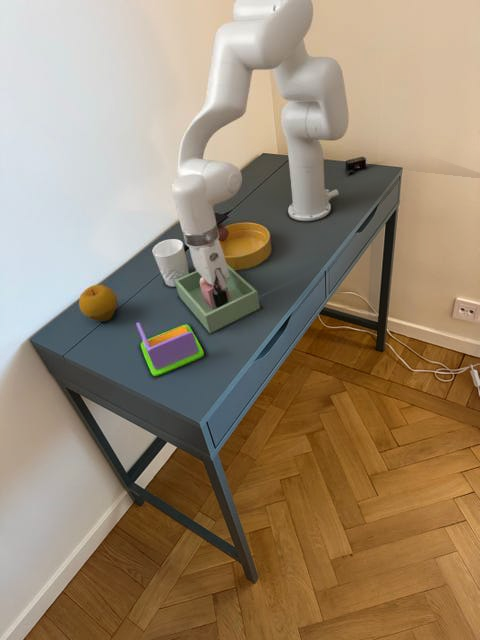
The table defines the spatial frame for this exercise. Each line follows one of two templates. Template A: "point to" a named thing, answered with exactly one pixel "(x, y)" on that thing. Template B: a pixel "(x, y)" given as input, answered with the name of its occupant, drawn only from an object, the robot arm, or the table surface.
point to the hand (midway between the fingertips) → (216, 298)
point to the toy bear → (210, 292)
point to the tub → (214, 319)
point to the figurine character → (221, 226)
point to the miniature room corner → (170, 349)
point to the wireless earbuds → (355, 164)
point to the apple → (98, 303)
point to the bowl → (246, 245)
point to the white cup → (171, 260)
